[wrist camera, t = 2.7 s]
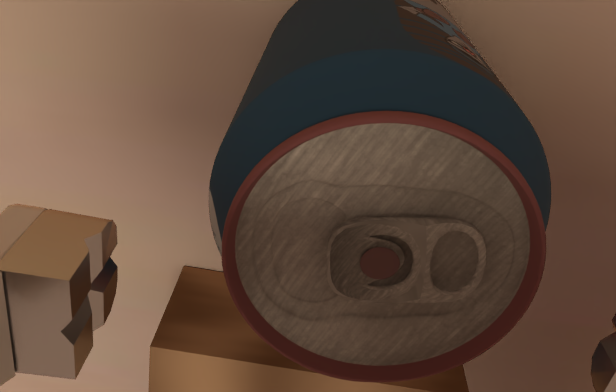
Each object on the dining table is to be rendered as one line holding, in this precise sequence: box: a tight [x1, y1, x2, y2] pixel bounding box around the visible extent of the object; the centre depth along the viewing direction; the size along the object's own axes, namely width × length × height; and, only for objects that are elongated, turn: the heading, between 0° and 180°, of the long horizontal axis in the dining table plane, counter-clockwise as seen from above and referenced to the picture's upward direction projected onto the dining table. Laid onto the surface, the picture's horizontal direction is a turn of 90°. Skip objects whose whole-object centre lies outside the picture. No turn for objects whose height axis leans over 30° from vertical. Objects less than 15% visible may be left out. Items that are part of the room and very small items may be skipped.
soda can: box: [209, 0, 551, 382], centre depth 15 cm, size 7×7×12 cm
